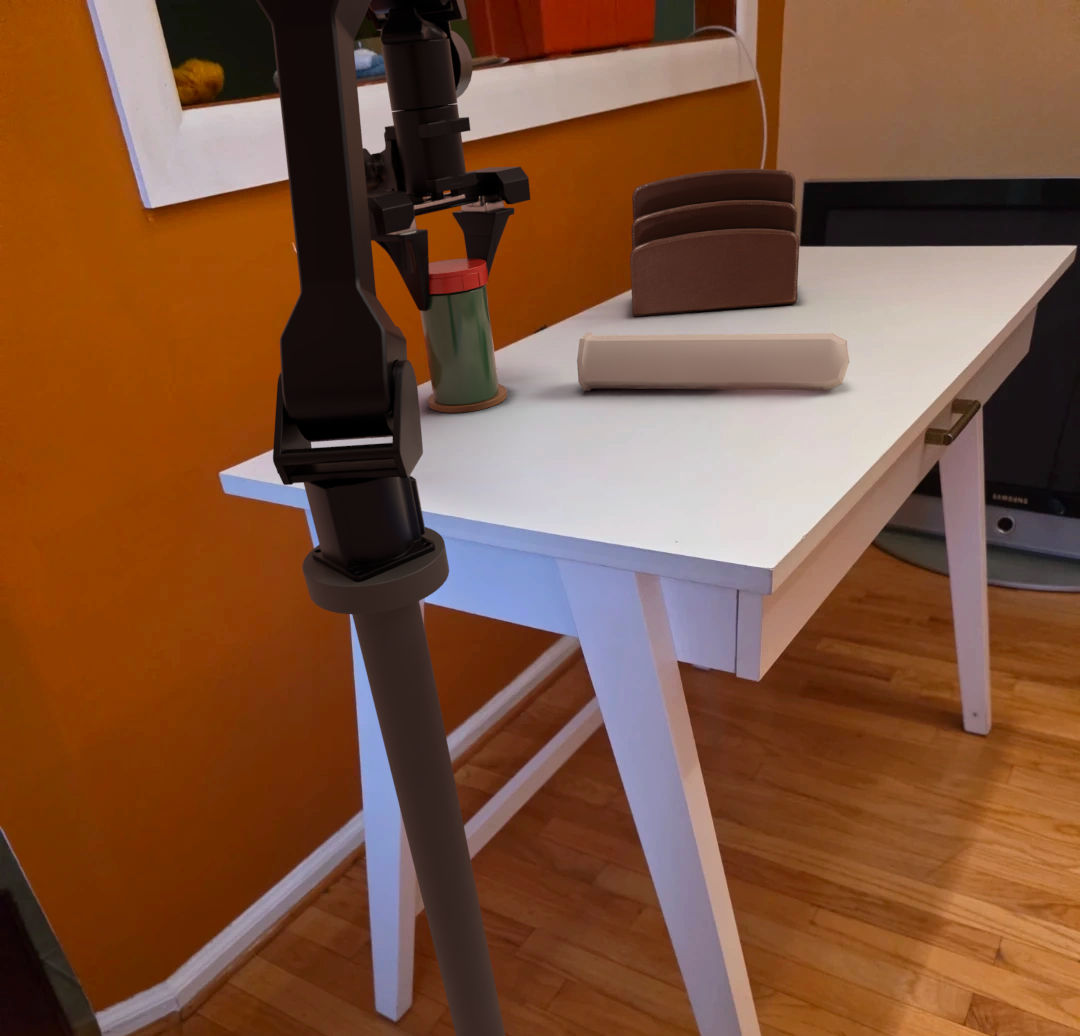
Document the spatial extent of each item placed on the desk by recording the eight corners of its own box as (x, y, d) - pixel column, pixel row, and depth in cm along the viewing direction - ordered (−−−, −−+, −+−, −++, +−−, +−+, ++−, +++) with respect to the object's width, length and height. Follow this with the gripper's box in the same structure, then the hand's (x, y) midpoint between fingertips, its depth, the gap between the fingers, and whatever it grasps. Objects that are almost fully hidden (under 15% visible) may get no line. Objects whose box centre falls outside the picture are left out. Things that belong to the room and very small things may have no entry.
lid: (492, 287, 87) (490, 266, 86) (416, 297, 86) (413, 277, 85) (483, 274, 93) (481, 255, 92) (411, 284, 92) (408, 265, 91)
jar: (500, 400, 92) (484, 273, 86) (432, 408, 92) (412, 282, 86) (498, 382, 98) (483, 261, 91) (434, 389, 98) (415, 269, 91)
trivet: (459, 418, 91) (458, 411, 91) (413, 404, 96) (412, 398, 96) (523, 395, 95) (522, 389, 95) (475, 383, 100) (474, 378, 100)
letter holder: (636, 299, 125) (631, 178, 117) (790, 287, 122) (796, 161, 114) (631, 317, 117) (626, 188, 109) (797, 305, 114) (803, 170, 106)
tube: (854, 332, 87) (594, 335, 95) (851, 327, 82) (577, 330, 90) (847, 394, 89) (592, 391, 97) (844, 392, 84) (575, 389, 92)
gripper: (443, 102, 92) (466, 277, 100) (281, 125, 81) (323, 318, 90) (525, 94, 85) (542, 282, 94) (360, 119, 74) (397, 328, 83)
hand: (452, 301), depth 90 cm, fingers closed on lid, 7 cm apart
